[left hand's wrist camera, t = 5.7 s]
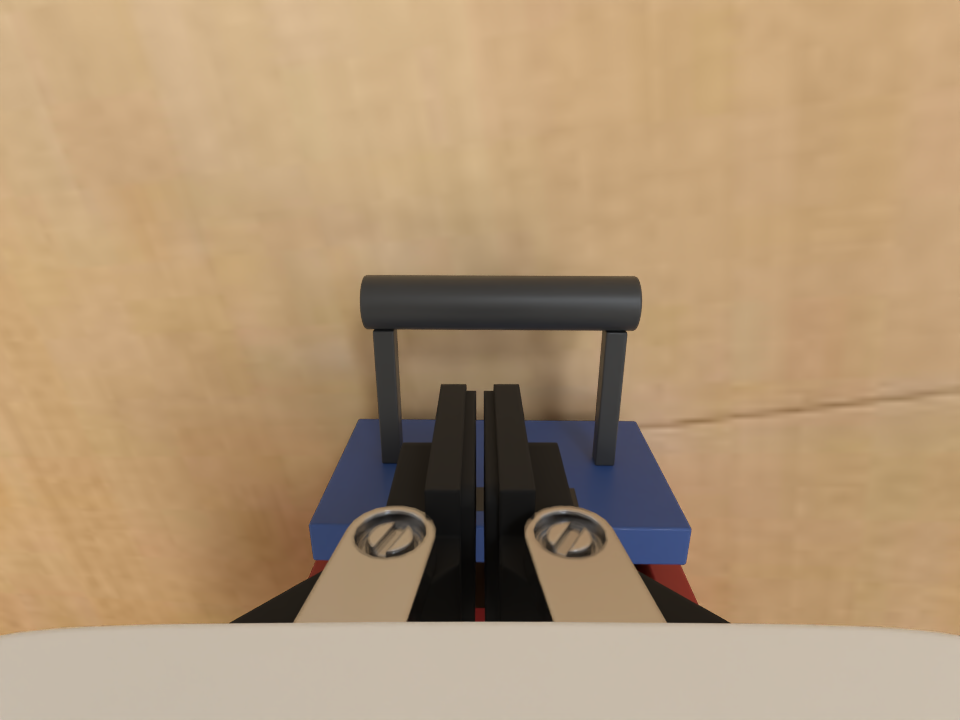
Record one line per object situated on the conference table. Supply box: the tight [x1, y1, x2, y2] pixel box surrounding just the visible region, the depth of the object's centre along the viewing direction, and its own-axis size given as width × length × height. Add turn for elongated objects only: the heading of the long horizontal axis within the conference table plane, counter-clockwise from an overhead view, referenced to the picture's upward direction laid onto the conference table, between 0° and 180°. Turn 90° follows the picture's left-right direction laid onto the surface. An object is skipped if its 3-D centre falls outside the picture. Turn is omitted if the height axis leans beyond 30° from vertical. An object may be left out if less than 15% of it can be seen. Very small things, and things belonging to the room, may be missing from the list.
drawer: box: [309, 275, 691, 608], centre depth 20 cm, size 25×10×6 cm, turn 0°
